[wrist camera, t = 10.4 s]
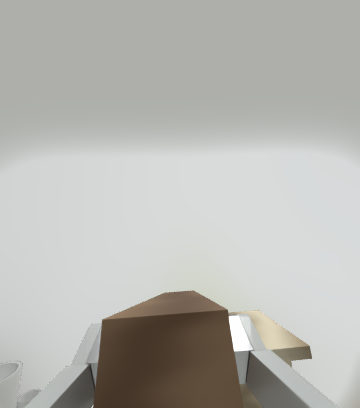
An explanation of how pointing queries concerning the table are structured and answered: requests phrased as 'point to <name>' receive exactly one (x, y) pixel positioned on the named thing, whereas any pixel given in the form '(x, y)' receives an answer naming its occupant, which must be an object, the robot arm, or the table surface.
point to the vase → (13, 386)
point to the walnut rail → (168, 356)
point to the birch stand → (273, 347)
